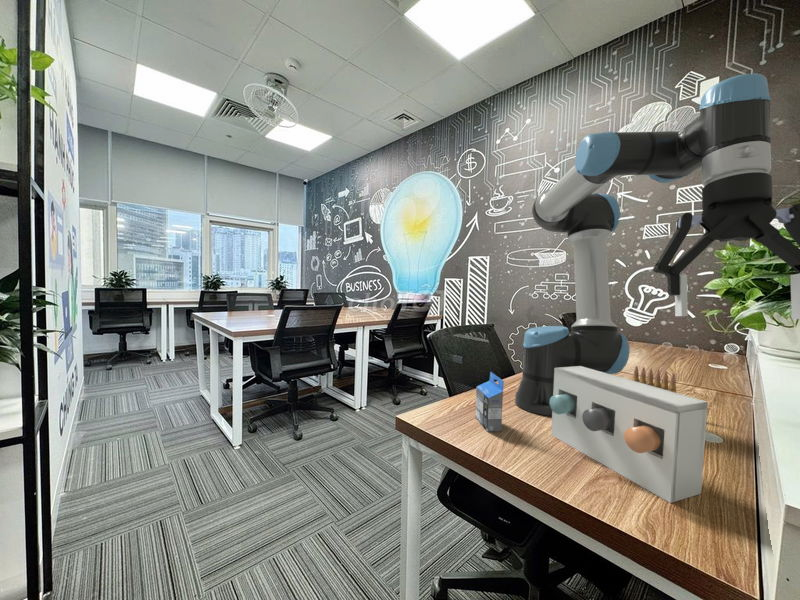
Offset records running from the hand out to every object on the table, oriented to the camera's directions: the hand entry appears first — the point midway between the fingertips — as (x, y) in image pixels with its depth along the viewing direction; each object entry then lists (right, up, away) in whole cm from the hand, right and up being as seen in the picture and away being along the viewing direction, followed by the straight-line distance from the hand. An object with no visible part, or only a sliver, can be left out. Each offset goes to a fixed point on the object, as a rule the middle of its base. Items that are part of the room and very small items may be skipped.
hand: (738, 317), depth 49 cm
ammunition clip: (+22, -30, +46) cm, 59 cm away
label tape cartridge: (-29, -29, +32) cm, 52 cm away
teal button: (-16, -22, +23) cm, 35 cm away
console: (-8, -30, +17) cm, 35 cm away
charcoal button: (-13, -23, +15) cm, 30 cm away
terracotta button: (-10, -23, +7) cm, 26 cm away
